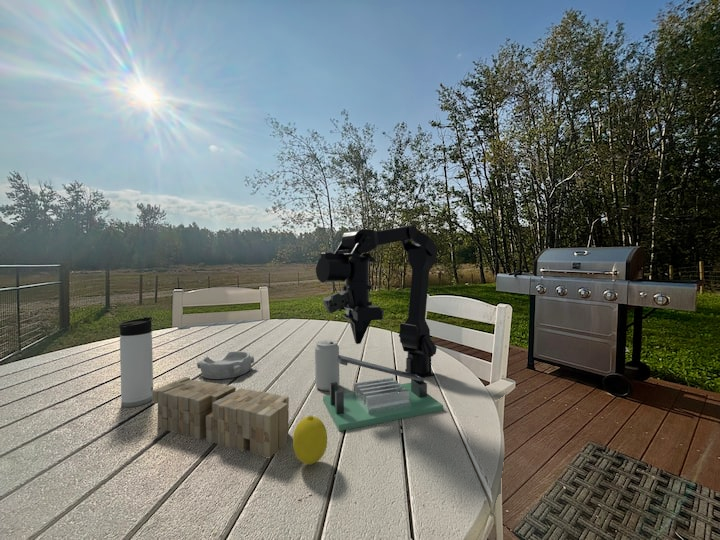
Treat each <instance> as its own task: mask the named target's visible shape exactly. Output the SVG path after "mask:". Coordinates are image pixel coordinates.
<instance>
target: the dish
mask: <svg viewBox="0 0 720 540" xmlns="http://www.w3.org/2000/svg"><path fill="white" fill-rule="evenodd" d="M254 362H255V357H254V355H251V354H250V353H249V352H247V351H242V350H241V351H239V350H237V351H234V350H233V351H229V352H228V353H227V354H226V356H225V357H223V359H221V360H217V361H214V360H213V359H211V358H210V357H209V356H205V357H204V358H201V359H200V360H197V361H196V366H197V369H200V371H201V372H200V373H201V375H202V377H203V378H205V379H210V380H223V379H231V378H235V377H241V376H243V375H244V374H246V373H248V372H249V371H250V370H251V369H252V364H254Z"/></svg>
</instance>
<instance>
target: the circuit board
mask: <svg viewBox="0 0 720 540" xmlns="http://www.w3.org/2000/svg"><path fill="white" fill-rule="evenodd" d="M400 384H401V387H402V386H404V387H405V390H409V401H410V402H411V406H410V407H404V408H399V409H393V410H388V411H383V412H377V413H372V414H368V413H367V412H366V410H365V409H364V408H363V407H362V405H361V404H360V403H359V402H358V400H357V399H356V398H355V396H354V395H353V391H347V392H344V413H343V414H336V413H335V405H331V404H330V394H328V395H323V396H322V402H323V404H324V405H325V408H326V410H327V411H328V413H329V415H330V417H331V419H332V421H333V423H334V424H335V426H336V429H337V430H338V432H341V431H346V430H352V429H355V428H361V427H365V426H366V427H367V426H370V425H376V424H381V423H386V422H391V421H392V422H393V421H396V420H402V419H407V418H411V417H417V416H422V415H426V414H431V413H437V412H442V411H444V405H443V404H442V403H441V402H439V401H438V400H437V399H436V398H434V397H432V396H431V395H430V394H429V393H427V397H422V398H419V397H418V396H416V395H415V394H414V393H413V392H411V382H406V383H400Z"/></svg>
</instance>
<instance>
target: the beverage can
mask: <svg viewBox="0 0 720 540" xmlns="http://www.w3.org/2000/svg"><path fill="white" fill-rule="evenodd" d="M338 355H340V347H339V344H338V341H336V340H332V339H331V340H330V339H327V340H319V341H317V342H316V343H315V346H314V366H315V367H314V371H315V374H314V375H315V387H316V388H317V389H318V390H320V391H325V392H326V391H329V392H330V383H334V382H337V383H338V387H339V386H340V384H341V383H340V363H339V362H338V361H337V357H338Z"/></svg>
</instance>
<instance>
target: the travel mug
mask: <svg viewBox="0 0 720 540" xmlns="http://www.w3.org/2000/svg"><path fill="white" fill-rule="evenodd" d="M152 321H153V319H152V316H151V317H150V316H145V317H142V318H135V319H130V320H126V321H123V322H122V323H120V324H119V354H120V355H119V356H120V359H119V361H120V397H121V399H120V400H121V401H120V403H121V406H122V407H124V408H134V407H139V406H143V405H146V404H148V403H149V402H151V401H153V400H152V391H153V390H154V374H153V373H154V372H153V371H154V368H153V366H154V365H153V363H154V362H153V358H154V357H153V330H152V326H153V325H152Z"/></svg>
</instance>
